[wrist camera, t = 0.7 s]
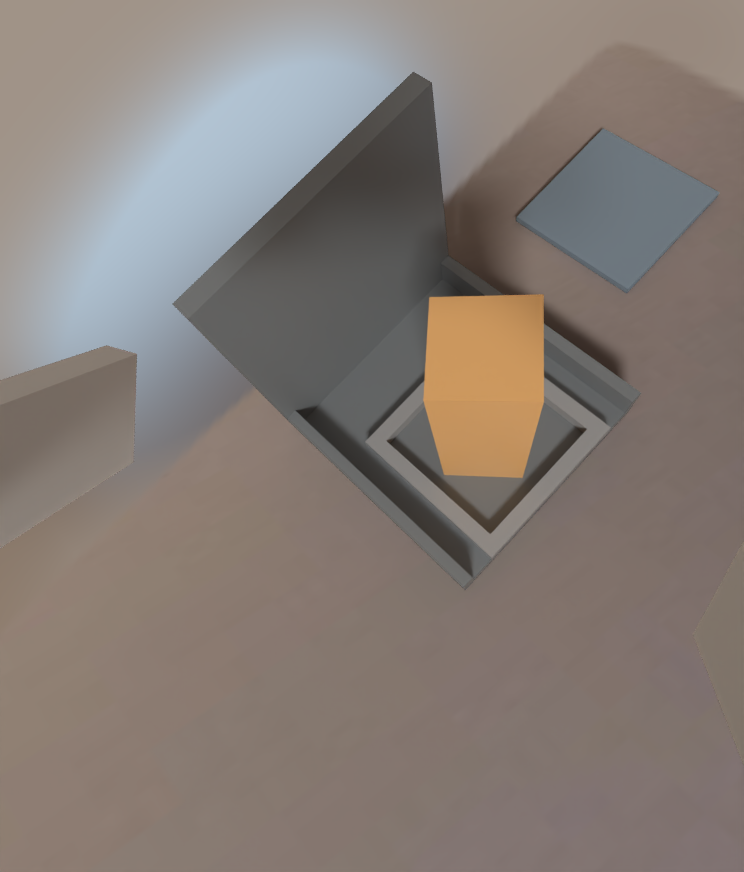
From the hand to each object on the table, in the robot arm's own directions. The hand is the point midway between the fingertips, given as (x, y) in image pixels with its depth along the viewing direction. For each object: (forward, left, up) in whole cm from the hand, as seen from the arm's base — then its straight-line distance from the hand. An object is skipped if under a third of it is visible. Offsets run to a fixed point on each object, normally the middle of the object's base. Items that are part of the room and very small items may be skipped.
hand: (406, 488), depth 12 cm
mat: (+10, -28, -27) cm, 40 cm away
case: (+8, -8, -27) cm, 29 cm away
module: (+5, -8, -25) cm, 27 cm away
